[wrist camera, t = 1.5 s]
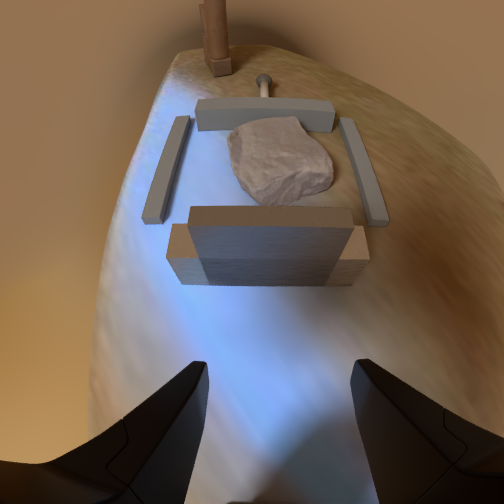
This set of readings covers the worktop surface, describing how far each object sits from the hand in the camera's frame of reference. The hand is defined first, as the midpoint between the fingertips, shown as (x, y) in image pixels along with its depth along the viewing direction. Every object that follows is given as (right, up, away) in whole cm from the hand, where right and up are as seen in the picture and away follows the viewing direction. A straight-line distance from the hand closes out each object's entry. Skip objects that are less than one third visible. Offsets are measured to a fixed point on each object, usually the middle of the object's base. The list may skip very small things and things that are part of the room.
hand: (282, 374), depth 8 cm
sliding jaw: (0, +2, +17) cm, 17 cm away
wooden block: (-8, +40, +39) cm, 57 cm away
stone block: (+1, +13, +24) cm, 27 cm away
